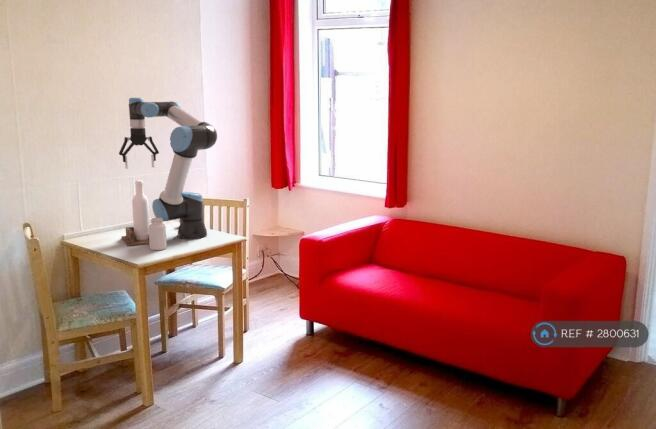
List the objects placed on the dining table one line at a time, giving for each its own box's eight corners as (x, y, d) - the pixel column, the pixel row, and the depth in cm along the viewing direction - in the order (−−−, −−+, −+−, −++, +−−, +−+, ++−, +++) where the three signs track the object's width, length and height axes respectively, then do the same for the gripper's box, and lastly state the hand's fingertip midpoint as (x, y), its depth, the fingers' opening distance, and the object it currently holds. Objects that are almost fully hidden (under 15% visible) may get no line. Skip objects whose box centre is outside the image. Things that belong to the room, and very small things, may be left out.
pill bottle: (169, 247, 299) (168, 217, 296) (161, 251, 292) (160, 220, 288) (154, 245, 301) (153, 216, 298) (146, 250, 293) (145, 219, 290)
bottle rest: (164, 242, 307) (164, 230, 306) (127, 246, 299) (127, 234, 298) (156, 234, 323) (156, 223, 322) (121, 238, 315) (120, 226, 313)
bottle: (152, 236, 314) (149, 179, 308) (146, 240, 307) (143, 182, 300) (137, 236, 315) (134, 179, 309) (131, 240, 307) (128, 181, 301)
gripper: (160, 126, 327) (162, 165, 331) (111, 127, 316) (114, 167, 321) (163, 127, 320) (165, 167, 325) (113, 128, 309) (116, 169, 314)
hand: (139, 167), depth 323 cm, fingers open, 13 cm apart
